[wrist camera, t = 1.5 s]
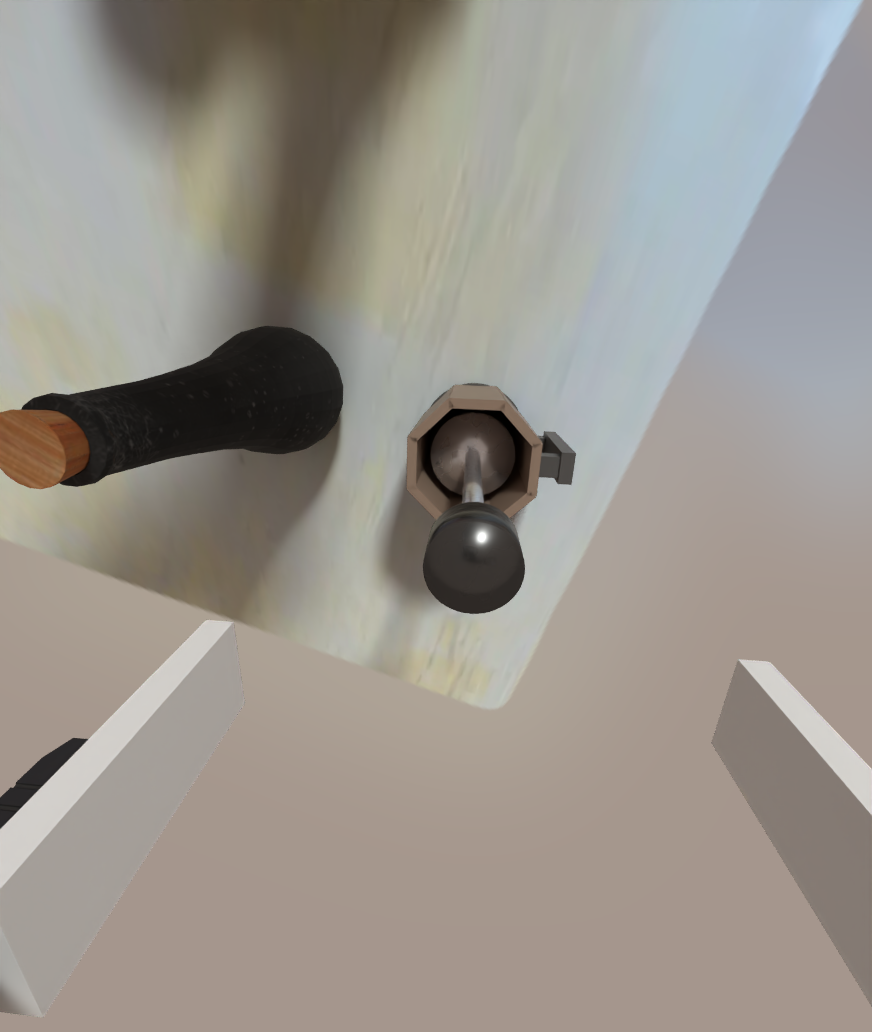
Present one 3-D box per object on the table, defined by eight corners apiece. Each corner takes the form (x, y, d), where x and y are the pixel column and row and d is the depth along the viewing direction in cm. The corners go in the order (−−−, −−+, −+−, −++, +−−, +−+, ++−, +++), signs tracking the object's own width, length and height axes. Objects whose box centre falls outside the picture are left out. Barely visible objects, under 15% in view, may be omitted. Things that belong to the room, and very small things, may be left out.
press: (424, 380, 44) (405, 393, 32) (554, 386, 43) (586, 401, 31) (421, 480, 48) (404, 526, 35) (542, 487, 47) (567, 536, 35)
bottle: (325, 458, 48) (116, 619, 20) (234, 402, 46) (-132, 488, 18) (375, 369, 44) (206, 407, 16) (278, 305, 43) (-93, 225, 15)
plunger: (432, 409, 37) (388, 482, 17) (518, 413, 36) (572, 492, 17) (430, 491, 39) (388, 636, 19) (510, 495, 39) (550, 648, 19)
